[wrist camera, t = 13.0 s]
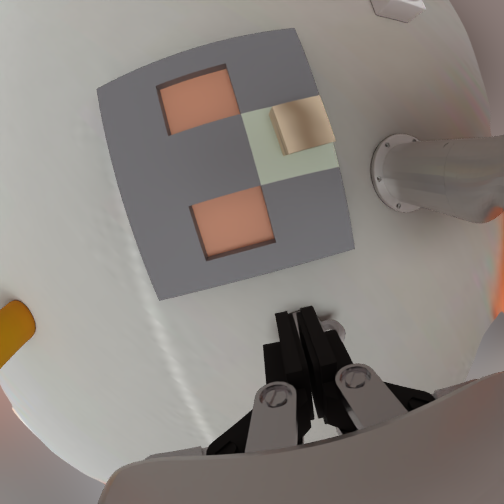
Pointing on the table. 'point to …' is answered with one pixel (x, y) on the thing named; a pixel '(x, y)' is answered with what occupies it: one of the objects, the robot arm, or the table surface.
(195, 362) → the table surface
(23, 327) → the beer bottle
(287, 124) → the beech block
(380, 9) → the medicine bottle
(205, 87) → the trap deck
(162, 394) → the table surface
